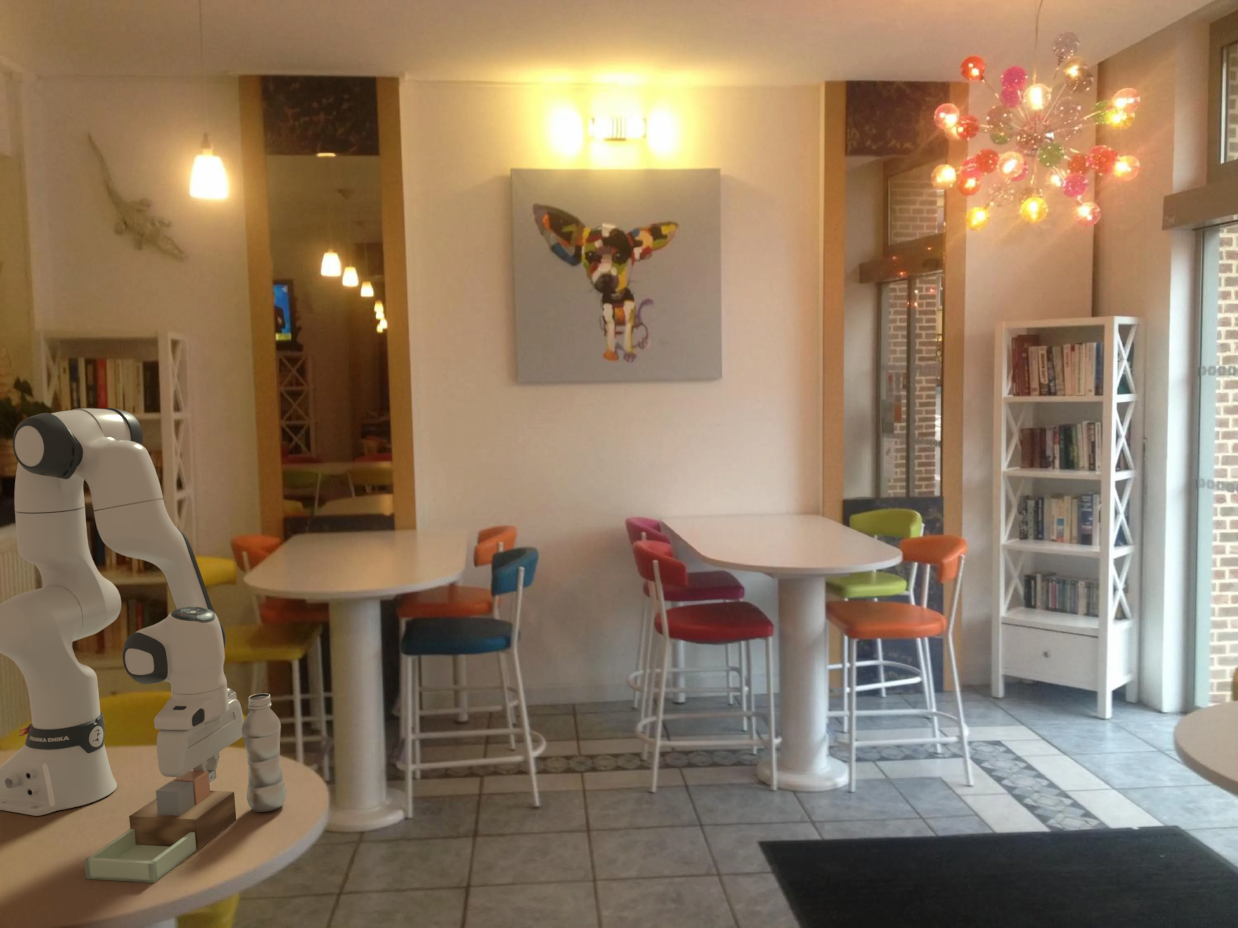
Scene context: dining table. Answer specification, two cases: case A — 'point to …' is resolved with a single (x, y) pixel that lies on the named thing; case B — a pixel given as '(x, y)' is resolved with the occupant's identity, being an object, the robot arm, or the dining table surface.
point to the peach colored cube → (197, 784)
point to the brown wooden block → (185, 821)
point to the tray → (137, 859)
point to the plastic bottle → (263, 755)
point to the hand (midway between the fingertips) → (207, 782)
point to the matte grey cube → (175, 798)
